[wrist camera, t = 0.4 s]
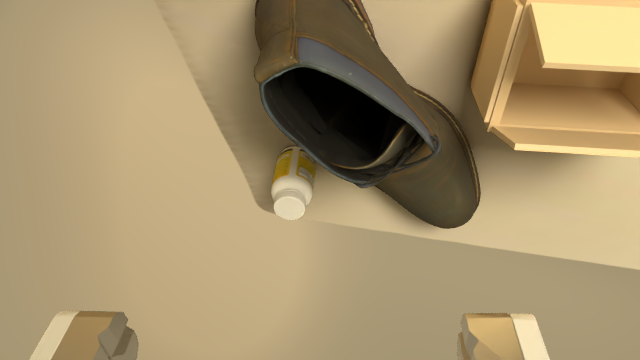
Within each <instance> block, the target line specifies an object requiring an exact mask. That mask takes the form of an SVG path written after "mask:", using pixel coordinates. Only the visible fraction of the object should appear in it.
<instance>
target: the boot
mask: <svg viewBox="0 0 640 360" xmlns="http://www.w3.org/2000/svg"><path fill="white" fill-rule="evenodd" d="M255 17H256V20H255V35H256V39H257V43H258V46H259V49H260V51H261V53H260V56H259V59H258V63H257V65H256V66H255V68H254V77H255V80H256V81H257V82H258V83H259V84H260V85H259V89H260V95H261V100H262V104H263V106H264V108H265V110H266V112H267V114H268V116H269V117H270V118H271V119H272V121H273V122H274V123H275V124H276V126H277V127H278V128H279V129H280V130H281V131H282V132H283V133H284V134H285V135H286V136H287V137H289V138H290V139H291V140H292V141H293V142H294V143H296V144H297V145H298V146H299V147H301V148H302V149H303V150H304V151H305V152H307V153H308V154H309V155H310V156H311V157H312V158H313V159H314V160H316V161H317V162H318V163H319V164H320V165H322V166H323V167H324V168H326V169H327V170H328V171H330V172H331V173H332V174H334V175H336V176H338V177H340V178H342V179H344V180H346V181H349V182H352V183H354V184H355V185H357V186H358V187H360V188H367V187H371V186H373V185H375V186H376V187H378V188H379V189H380V190H382V191H383V192H385V193H386V194H388V195H389V196H391V197H392V198H393V199H394V200H395V201H397V202H398V203H399V204H400V205H402V206H403V207H404V208H406V209H407V210H408V211H410V212H411V213H412V214H414V215H415V216H417V217H418V218H420V219H422V220H423V221H425V222H427V223H429V224H431V225H434V226H437V227H440V228H447V229H449V228H456V227H459V226H462V225H464V224H465V223H467V222H468V221H469V220H470V219H471V217H472V216H473V214H474V212H475V211H476V209H477V207H478V205H479V202H480V194H481V191H480V183H479V177H478V172H477V168H476V165H475V161H474V158H473V155H472V151H471V149H470V146H469V144H468V141H467V139H466V136H465V134H464V132H463V130H462V128H461V126H460V125H459V123H458V121H457V120H456V119H455V117H454V116H453V115H452V114H451V113H450V112H449V111H448V109H447V108H445V107H444V106H443V105H442V104H441V103H440V102H438V101H437V100H436V99H434V98H432V97H431V96H429V95H428V94H426V93H424V92H422V91H420V90H418V89H416V88H414V87H412V86H410V85H409V84H407V83H406V81H405V80H404V79H403V77H402V76H401V75H400V73H399V72H398V71H397V70H396V68H395V67H394V66H393V65H392V63H391V62H390V61H389V60H388V58H387V57H386V56H385V55H384V53H383V52H382V51H381V50H380V47H379V45H378V43H377V41H376V38H375V35H374V31H373V27H372V24H371V22H370V20H369V18H368V15H367V13H366V11H365V9H364V6H363V4H362V2H361V0H257V1H256V5H255ZM370 182H371V183H370ZM362 183H363V184H362Z"/></svg>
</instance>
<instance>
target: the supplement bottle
mask: <svg viewBox="0 0 640 360" xmlns="http://www.w3.org/2000/svg"><path fill="white" fill-rule="evenodd" d="M315 166H316V163H315V160H314V159H313V158H312V157H311V156H310V155H309V154H308V153H307V152H305V151H304V150H303V149H302V148H301V147H297V146H293V147H288V148H286V149H284V150H283V151H282V152H281V153H280V154H279V156H278V158H277V163H276V168H275V173H274V178H273V183H272V188H271V195H272V198H273V200H274V211H275V213H276V214H277V215H278V216H279V217H281V218H283V219H286V220H296V219H299V218H300V217H302V216H303V215H304V213H305V209H306V206H307V205H308V204H309V203H310V201H311V199H312V195H313V186H314V177H315Z"/></svg>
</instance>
